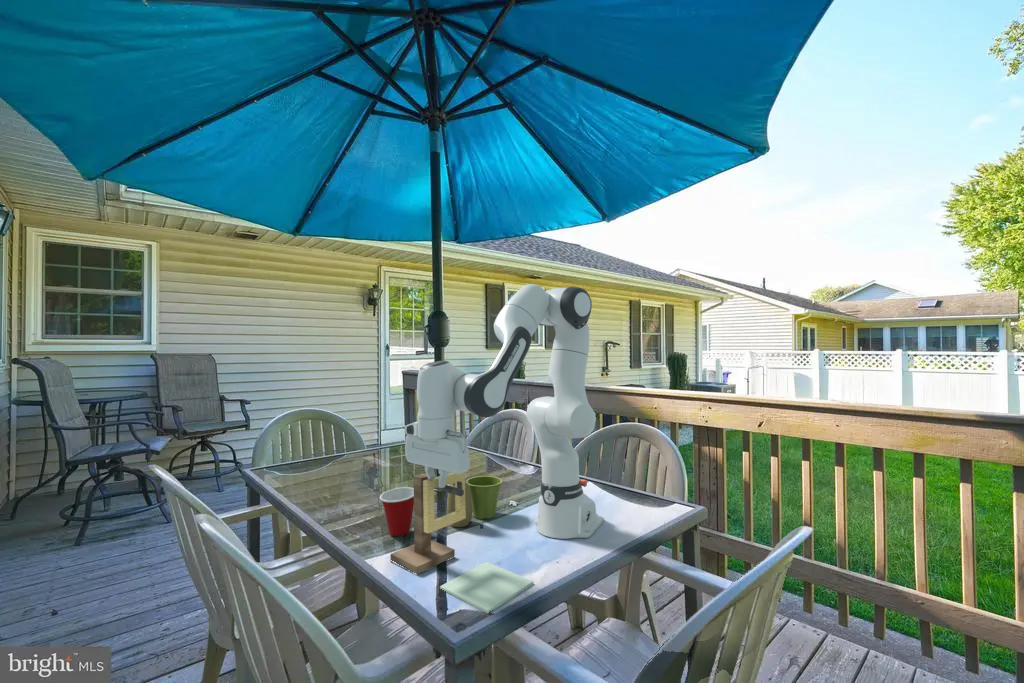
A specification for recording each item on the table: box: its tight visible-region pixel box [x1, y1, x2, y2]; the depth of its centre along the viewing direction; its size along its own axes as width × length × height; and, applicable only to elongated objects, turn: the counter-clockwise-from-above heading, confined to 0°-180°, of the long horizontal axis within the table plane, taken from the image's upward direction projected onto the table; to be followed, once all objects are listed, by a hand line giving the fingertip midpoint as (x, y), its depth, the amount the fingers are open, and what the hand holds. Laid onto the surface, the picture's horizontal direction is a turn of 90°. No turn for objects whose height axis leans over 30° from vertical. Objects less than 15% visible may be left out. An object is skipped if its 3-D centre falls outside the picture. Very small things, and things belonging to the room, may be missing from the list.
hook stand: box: [390, 473, 464, 575], centre depth 112 cm, size 12×20×22 cm, turn 49°
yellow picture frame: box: [423, 472, 466, 534], centre depth 110 cm, size 12×2×12 cm, turn 139°
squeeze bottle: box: [446, 475, 473, 528], centre depth 138 cm, size 8×8×18 cm
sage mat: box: [439, 561, 534, 614], centre depth 102 cm, size 15×15×1 cm
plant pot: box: [466, 475, 503, 520], centre depth 145 cm, size 12×12×11 cm
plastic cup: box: [379, 486, 414, 537], centre depth 132 cm, size 11×11×12 cm
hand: (436, 485), depth 108 cm, fingers closed on yellow picture frame, 2 cm apart
